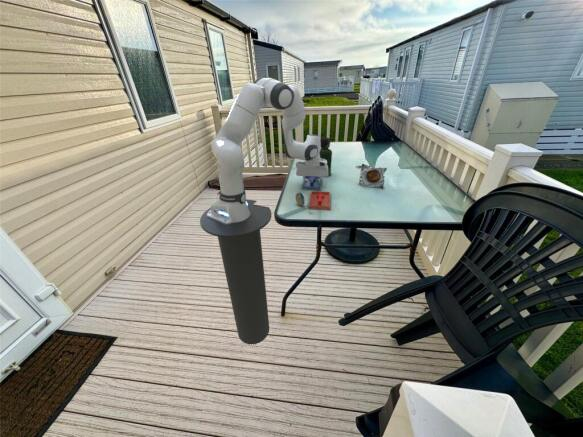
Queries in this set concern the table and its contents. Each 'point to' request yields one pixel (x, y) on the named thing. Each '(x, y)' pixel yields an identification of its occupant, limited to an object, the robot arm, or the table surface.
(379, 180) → the meal
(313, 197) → the red tray
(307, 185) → the blue tray
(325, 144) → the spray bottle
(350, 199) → the table surface
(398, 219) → the table surface
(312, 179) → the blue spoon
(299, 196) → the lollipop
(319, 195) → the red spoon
